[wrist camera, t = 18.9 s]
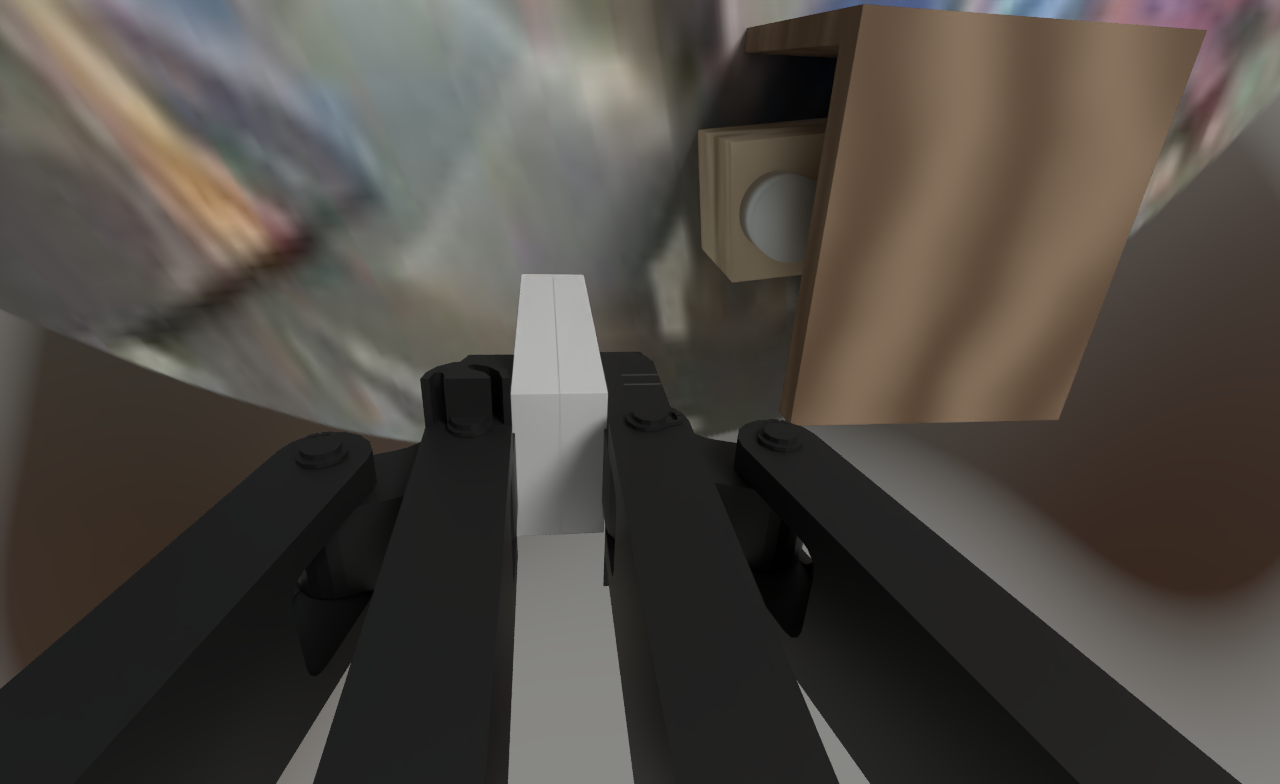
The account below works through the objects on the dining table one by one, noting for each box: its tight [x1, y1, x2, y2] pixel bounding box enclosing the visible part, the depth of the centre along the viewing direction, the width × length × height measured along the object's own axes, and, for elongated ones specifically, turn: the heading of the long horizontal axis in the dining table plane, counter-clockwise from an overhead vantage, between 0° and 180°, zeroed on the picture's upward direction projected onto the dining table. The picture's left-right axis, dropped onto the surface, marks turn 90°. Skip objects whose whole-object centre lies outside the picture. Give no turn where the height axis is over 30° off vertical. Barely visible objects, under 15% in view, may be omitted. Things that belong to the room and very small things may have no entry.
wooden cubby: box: [745, 4, 1207, 426], centre depth 34 cm, size 14×17×14 cm
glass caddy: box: [698, 118, 828, 283], centre depth 35 cm, size 10×7×10 cm
